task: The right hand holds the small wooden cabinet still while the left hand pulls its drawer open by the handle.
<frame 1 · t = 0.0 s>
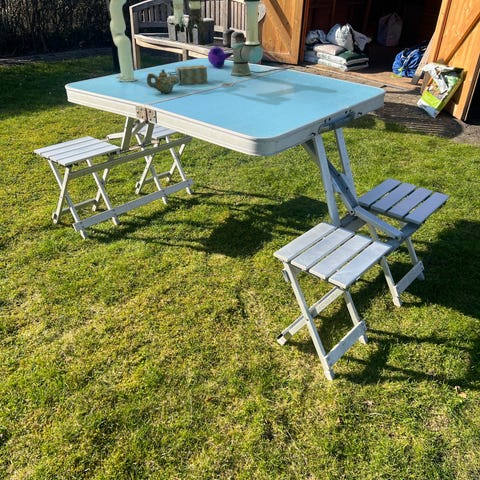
left hand: (180, 31, 344), 31 cm above the table, tool pointing down, fingers open, 9 cm apart
right hand: (197, 43, 306), 28 cm above the table, tool pointing down, fingers open, 13 cm apart
teapot: (164, 93, 303), on the table
toy: (220, 67, 387), on the table
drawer: (185, 75, 326), point 5 cm above the table, slide at 0.7 cm
cabinet: (193, 82, 330), on the table
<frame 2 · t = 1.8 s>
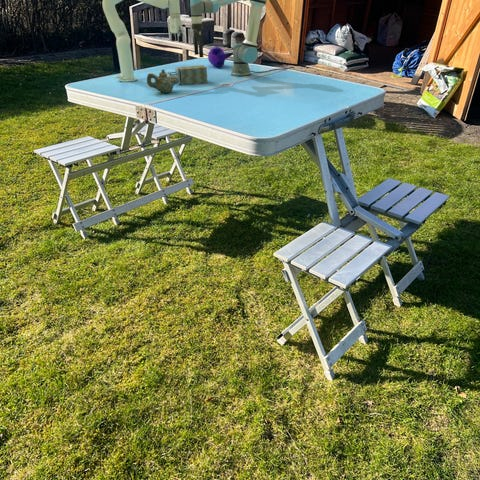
left hand: (177, 41, 335), 26 cm above the table, tool pointing down, fingers open, 9 cm apart
right hand: (199, 55, 323), 18 cm above the table, tool pointing down, fingers open, 13 cm apart
nothing on the table moved.
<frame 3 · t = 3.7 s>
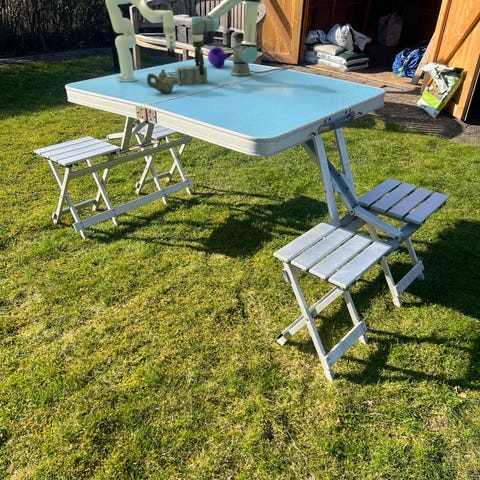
left hand: (171, 56, 319), 19 cm above the table, tool pointing down, fingers open, 9 cm apart
right hand: (200, 73, 329), 6 cm above the table, tool pointing down, fingers closed on cabinet, 10 cm apart
cabinet: (193, 82, 330), on the table, touching right hand
everything else where it was.
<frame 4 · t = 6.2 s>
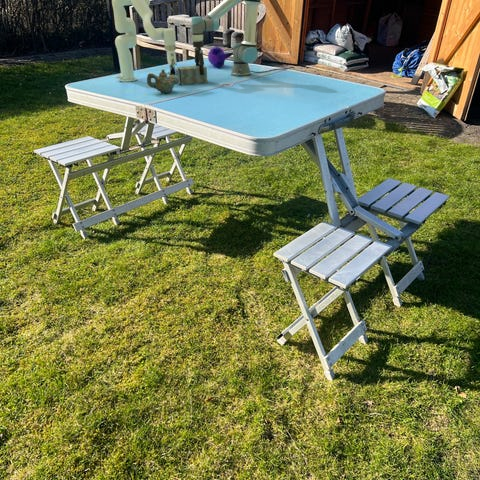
left hand: (173, 75, 323), 6 cm above the table, tool pointing down, fingers closed
right hand: (200, 73, 329), 6 cm above the table, tool pointing down, fingers closed on cabinet, 10 cm apart
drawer: (185, 75, 326), point 5 cm above the table, slide at 0.7 cm, touching left hand
cabinet: (193, 82, 330), on the table, touching right hand
everything else where it was.
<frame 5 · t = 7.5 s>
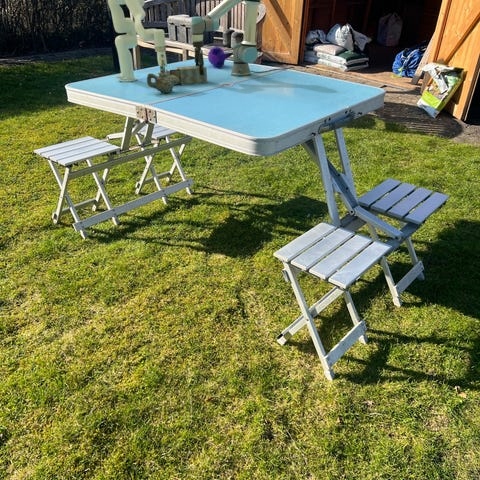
left hand: (163, 76, 321), 6 cm above the table, tool pointing down, fingers closed
right hand: (199, 73, 329), 6 cm above the table, tool pointing down, fingers closed on cabinet, 10 cm apart
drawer: (175, 76, 324), point 5 cm above the table, slide at 7.6 cm, touching left hand
cabinet: (192, 82, 331), on the table, touching right hand
everything else where it was.
when the right hand's fingers open (6 cm above the table, at t = 9.5 s): cabinet stays where it is, on the table.
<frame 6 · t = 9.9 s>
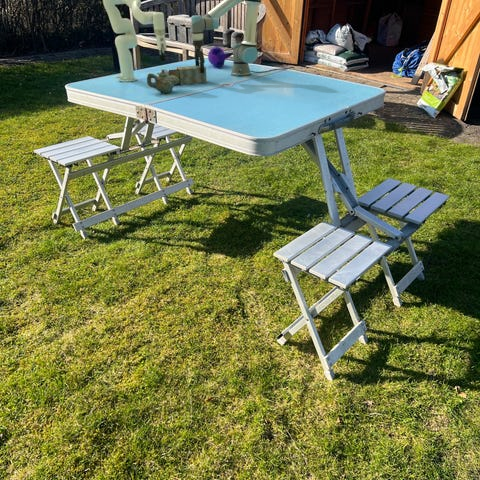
left hand: (162, 60, 316), 17 cm above the table, tool pointing down, fingers closed
right hand: (200, 71, 328), 8 cm above the table, tool pointing down, fingers open, 13 cm apart
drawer: (175, 76, 324), point 5 cm above the table, slide at 7.8 cm
cabinet: (192, 82, 330), on the table
everything else where it was.
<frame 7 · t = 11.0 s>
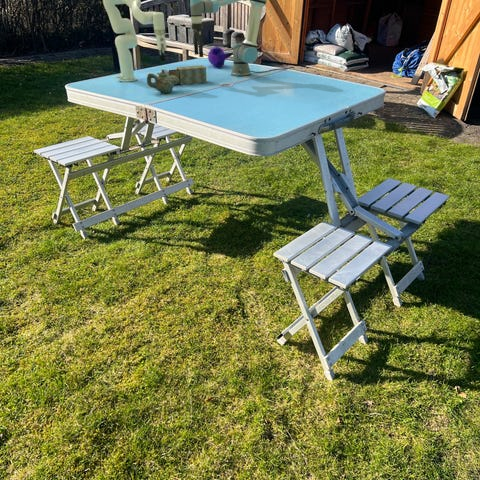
left hand: (162, 60, 316), 17 cm above the table, tool pointing down, fingers closed
right hand: (198, 55, 323), 18 cm above the table, tool pointing down, fingers open, 13 cm apart
nothing on the table moved.
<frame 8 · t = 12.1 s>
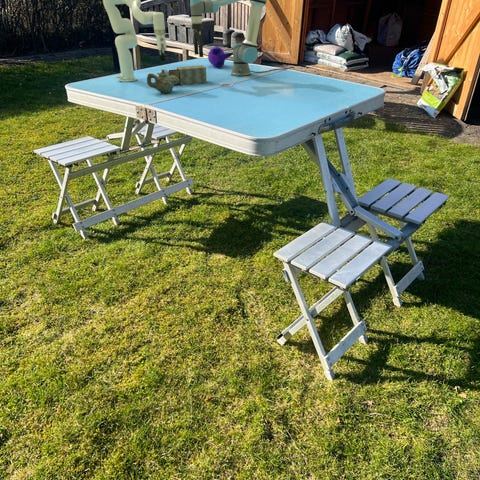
left hand: (162, 60, 316), 17 cm above the table, tool pointing down, fingers closed
right hand: (198, 55, 323), 18 cm above the table, tool pointing down, fingers open, 13 cm apart
nothing on the table moved.
at the end: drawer slide at 7.8 cm; cabinet tilted 0°; cabinet never tilted more than 3° during the clip; cabinet moved 0.4 cm from its start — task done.
